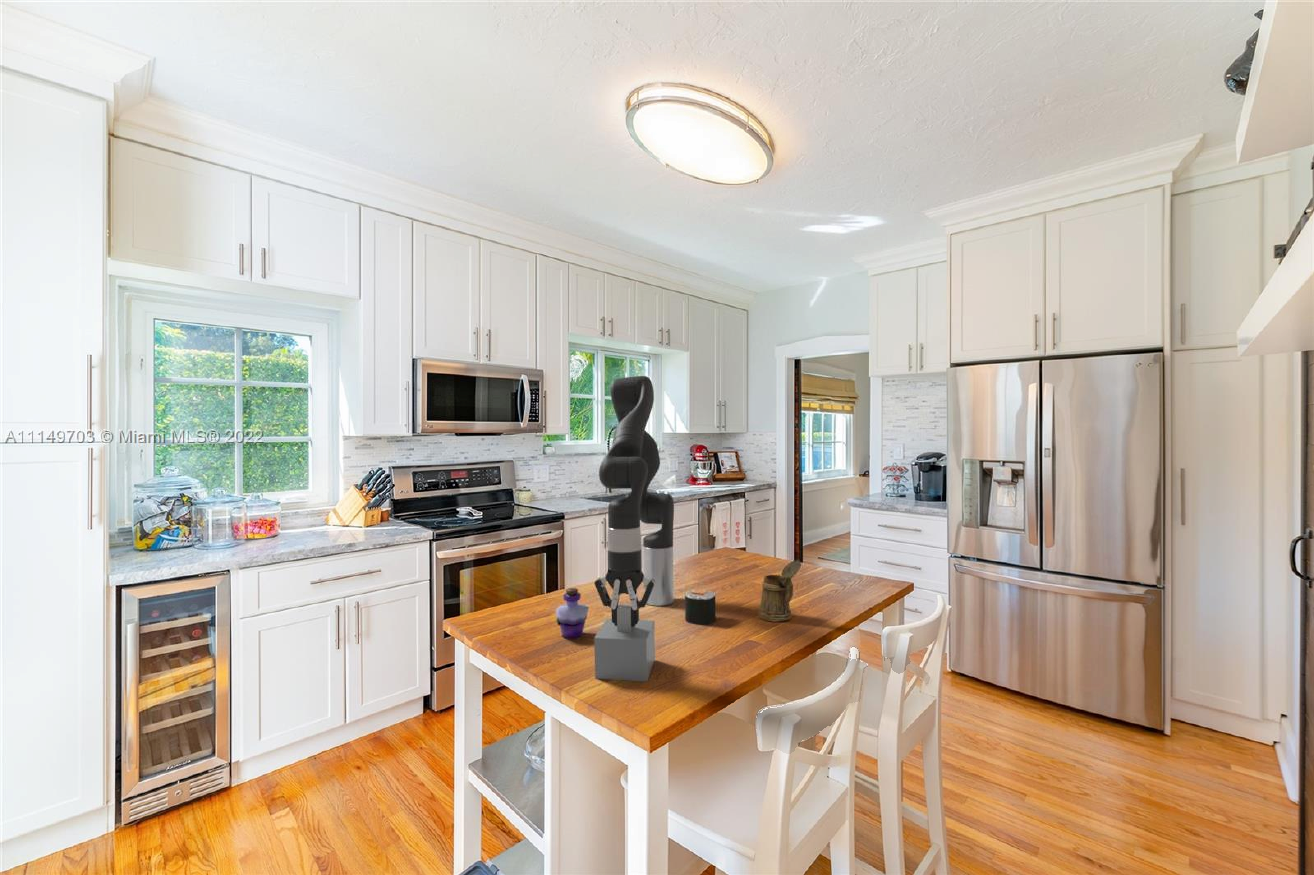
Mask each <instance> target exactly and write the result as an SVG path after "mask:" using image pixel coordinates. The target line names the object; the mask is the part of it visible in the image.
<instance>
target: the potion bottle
mask: <svg viewBox="0 0 1314 875" xmlns="http://www.w3.org/2000/svg"><path fill="white" fill-rule="evenodd" d="M581 596H582V595H581V592H579V589H578V588H576V587H569V588H567V589H566V590H565V593H564V594H563V601H565V602H566V604H564V605H559V606H558V607H557V608H556V609H555V615H556V623H557V625H558V626H559V627H560V632H561V637H563V639H566V640H575V639H579V638H583V635H584V630H585V629H584V628H585V624H586V620H587V619H588V613H589V608H590V607H589V606H587V605H586V604H583V603H579V601H580V600H581Z"/></svg>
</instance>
